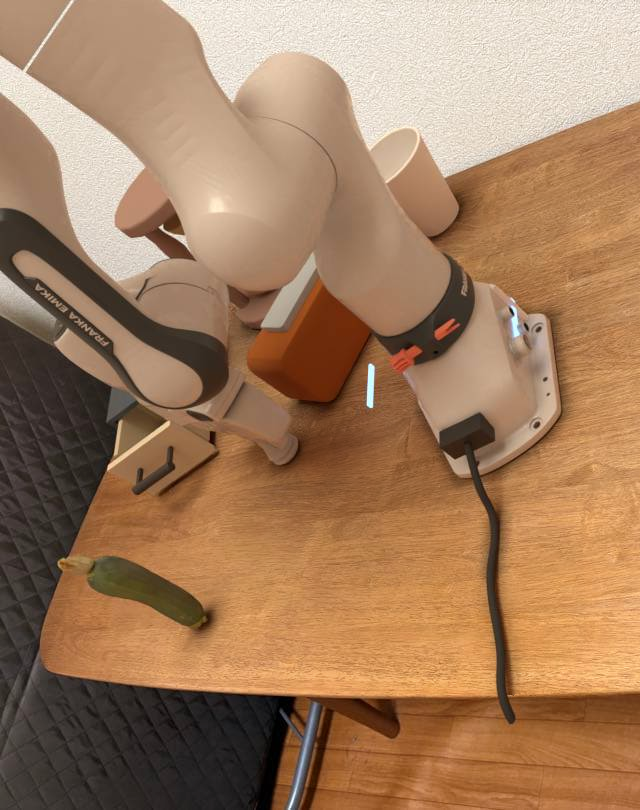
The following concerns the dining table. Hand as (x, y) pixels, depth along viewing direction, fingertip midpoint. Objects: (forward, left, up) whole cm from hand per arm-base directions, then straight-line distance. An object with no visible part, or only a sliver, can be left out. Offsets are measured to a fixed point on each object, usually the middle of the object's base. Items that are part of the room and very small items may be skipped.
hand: (272, 441), depth 110 cm
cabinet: (+26, +19, -3) cm, 33 cm away
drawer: (+14, +19, -2) cm, 24 cm away
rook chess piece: (0, 0, -3) cm, 3 cm away
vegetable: (-18, +14, -3) cm, 23 cm away
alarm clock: (+14, -13, -3) cm, 19 cm away
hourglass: (+37, -1, -3) cm, 37 cm away
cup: (+25, -31, -3) cm, 40 cm away
